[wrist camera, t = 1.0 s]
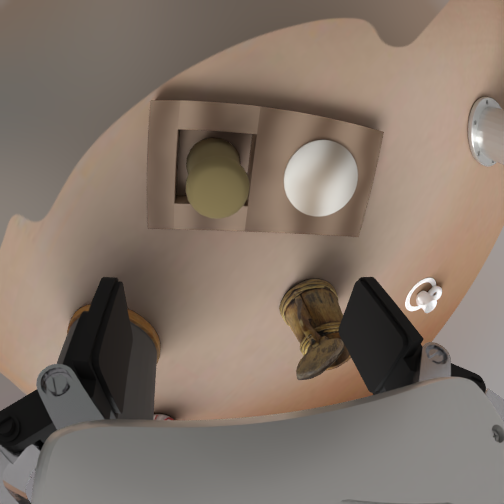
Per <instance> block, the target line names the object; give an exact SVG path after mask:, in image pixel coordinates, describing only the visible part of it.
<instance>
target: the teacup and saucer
mask: <svg viewBox="0 0 504 504" xmlns="http://www.w3.org/2000/svg"><path fill="white" fill-rule="evenodd" d="M425 282H429V283H431V285H432V288H431V289H430V290H429V291H428V292H426V291H421V292H419V293H418V295H417V298H416V302H417V304H418V306H416V307H413V306H411V305H410V303H409V300H410V297H411V295H412V293H413V291H414V290H415V289H416V288H417V287H418V286H419V285H421V284H423V283H425ZM435 292H437V293H436V294H435V295H434V296H433V294H434V293H435ZM441 295H442V289H441V287H439V286H436V281H435V280H434V279H433V278H425V279H423V280H421V281H420V282H418V283H417V284H416V285H415V286H414V287H413V288H412V289H411V291H410V292H409V294H408V296H407V298H406V301H405V306H406V308H407V310H409V311H415V310H418V309H420V308H422V309H423V310H424V311H425V313H429V312H431V311H432V310H433V309H434V308H435V306H436V304H437V301H436V300H438V299H439V298H440V296H441Z"/></svg>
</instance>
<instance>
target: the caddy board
mask: <svg viewBox="0 0 504 504" xmlns="http://www.w3.org/2000/svg"><path fill="white" fill-rule="evenodd" d="M180 129H184V130H208V131H224V132H236V133H247V134H252V142H251V150H250V158H249V167H248V175H247V176H248V179H249V185H250V188H249V194H248V198H247V200H246V202H245V204H244V206H243V207H242V208H241V209H240V210H239V211H238V212H236V213H235V214H233V215H231V216H229V217H225V218H221V219H215V218H208V217H206V216H203V215H201V214H200V213H198V212H197V211H196V210H195V209H194V208H193V207H192V205H191V204H190V202H189V201H188V198H187V197H181V196H176V184H177V161H178V144H179V130H180ZM383 133H384V132H382V131H379V130H375V129H372V128H368V127H364V126H360V125H357V124H353V123H348V122H344V121H340V120H336V119H331V118H326V117H321V116H317V115H311V114H306V113H300V112H295V111H289V110H282V109H276V108H268V107H261V106H253V105H243V104H233V103H221V102H206V101H182V100H151V101H150V114H149V130H148V154H147V219H148V229H189V230H221V231H249V232H273V233H295V234H316V235H334V236H352V237H358V236H359V233H360V230H361V226H362V222H363V219H364V215H365V211H366V208H367V204H368V200H369V196H370V192H371V188H372V184H373V180H374V175H375V171H376V167H377V162H378V157H379V153H380V148H381V143H382V138H383Z"/></svg>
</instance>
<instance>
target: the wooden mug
mask: <svg viewBox="0 0 504 504" xmlns="http://www.w3.org/2000/svg"><path fill="white" fill-rule="evenodd" d="M279 309H280V312H281V316H282V318H283V319H284V321H285V322H286V324H287V325H289V326H290V327H291V329H292V331H293V332H294V334H295V336H296V337H297V339H298V341H299V342H300V350H301V352H302V354H303V355H304V357H303V358H302V359H301V360H300V362H299V364H298V366H297V370H296V375H297V379H298V380H306V379H311V378H314V377H316V376H318V375H320V374H321V373H323V372H324V371H325V370H330V369H334V368H337V367H339V366H341V365H342V364H344V363H345V362H347V361H348V360H349V359H350V358H351V356H350V354H349V352H348V350H347V348H346V347H345V345H344V343H343V341H342V339H341V337H340V335H339V331H338V330H339V325H340V323H341V320H342V318H343V314H342V312H341V309H340V306H339V303H338V297H337V294H336V291H335V289H334V287H333V286H332V285H331V284H330V283H328V282H327V281H324V280H321V279H309V280H306V281H303V282H301V283H300V284H298V285H296V286H295V287H293V288H292V289H290V290H289V291H288V292H287V294H286V295H285V296H284V298H283V300H282V301H281V304H280V308H279Z"/></svg>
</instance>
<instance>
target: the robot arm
mask: <svg viewBox="0 0 504 504" xmlns="http://www.w3.org/2000/svg"><path fill="white" fill-rule="evenodd" d="M468 139H469V145H470V149H471V152H472V154H473V156H474V158H475V159H476V161H477V162H478V163H480V164H482V165H484V166H492V165H494V164H495V163H496V162H498V163H500V164H502V165H504V109H501V107H500V105H499V104H498V103H497V102H496V101H495V100H494V99H492V98H489V97H482V98H480V99H478V100H477V101H476V102H475V104H474V105H473V108H472V110H471V113H470V117H469V122H468ZM338 331H339V335H340V337H341V339H342V341H343V343H344V345H345V347H346V348H347V350H348V352H349V354H350V356H351V358H352V360H353V361H354V363H355V365H356V367H357V369H358V371H359V373H360V375H361V377H362V379H363V380H364V382H365V384H366V386H367V388H368V390H369V391H370V392H372V393H373V395H372V396H369V397H365V398H361V399H356V400H352V401H348V402H343V403H339V404H334V405H329V406H324V407H319V408H313V409H308V410H302V411H295V412H289V413H281V414H274V415H265V416H256V417H245V418H232V419H214V420H135V419H118V413H121V414H122V412H123V406H124V397H125V389H126V382H127V375H128V368H129V361H130V355H131V349H132V343H133V334H132V329H131V325H130V320H129V315H128V310H127V304H126V299H125V293H124V287H123V283H122V282H118V279H117V278H109V277H103V278H102V279H101V281H100V284H99V286H98V288H97V291H96V293H95V296H94V298H93V301H92V303H91V305H90V308H89V311H83V312H82V313H81V315H80V318H79V320H78V323H77V325H76V328H75V330H74V333H73V336H72V339H71V341H70V344H69V347H68V350H67V353H66V355H65V358H64V361H63V364H53V365H50V366H48V367H46V368H45V369H43V370H42V371H41V373H40V374H39V376H38V378H37V384H36V386H37V390H35V391H34V392H32V393H30V394H28V395H27V396H25V397H23V398H22V399H20V400H18V401H17V402H15V403H13V404H12V405H10V406H9V407H7V408H5V409H3V410H2V411H0V504H504V400H503V399H502V398H501V397H499V396H498V395H497V394H495V393H494V392H493V391H491V390H490V389H487V390H486V386H485V383H484V381H483V379H482V378H481V377H480V376H479V375H477V374H475V373H473V372H471V371H468V370H466V369H463V368H461V367H459V366H456V365H454V364H452V363H451V358H450V355H449V353H448V351H447V350H446V349H445V348H444V347H443V346H441V345H439V344H437V343H433V342H428V343H426V344H425V345H424V346H423V347H422V345H421V342H422V341H423V338H422V336H421V335H420V334H419V333H418V331H417V330H416V329H415V327H414V326H413V325H412V323H411V322H410V321H409V320H408V318H407V317H406V316H405V315H404V313H403V312H402V311H401V310H400V308H399V307H398V306H397V305H396V303H395V302H394V301H393V300H392V299H391V297H390V296H389V295H388V294H387V292H386V291H385V290H384V289H383V288H382V286H381V285H380V284H379V283H378V282H377V281H376V279H375V278H373V277H361V278H360V279H359V280H358V281H357V282H356V283H355V285H354V288H353V291H352V294H351V296H350V299H349V302H348V305H347V307H346V310H345V313H344V315H343V318H342V320H341V323H340V325H339V330H338ZM34 469H36V470H35V475H34V481H33V488H32V500H31V503H30V501H29V500H28V498H27V496H26V486H27V483H28V482H29V480H30V479H31V476H30V474H31V473H32V472H33V471H34Z"/></svg>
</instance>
